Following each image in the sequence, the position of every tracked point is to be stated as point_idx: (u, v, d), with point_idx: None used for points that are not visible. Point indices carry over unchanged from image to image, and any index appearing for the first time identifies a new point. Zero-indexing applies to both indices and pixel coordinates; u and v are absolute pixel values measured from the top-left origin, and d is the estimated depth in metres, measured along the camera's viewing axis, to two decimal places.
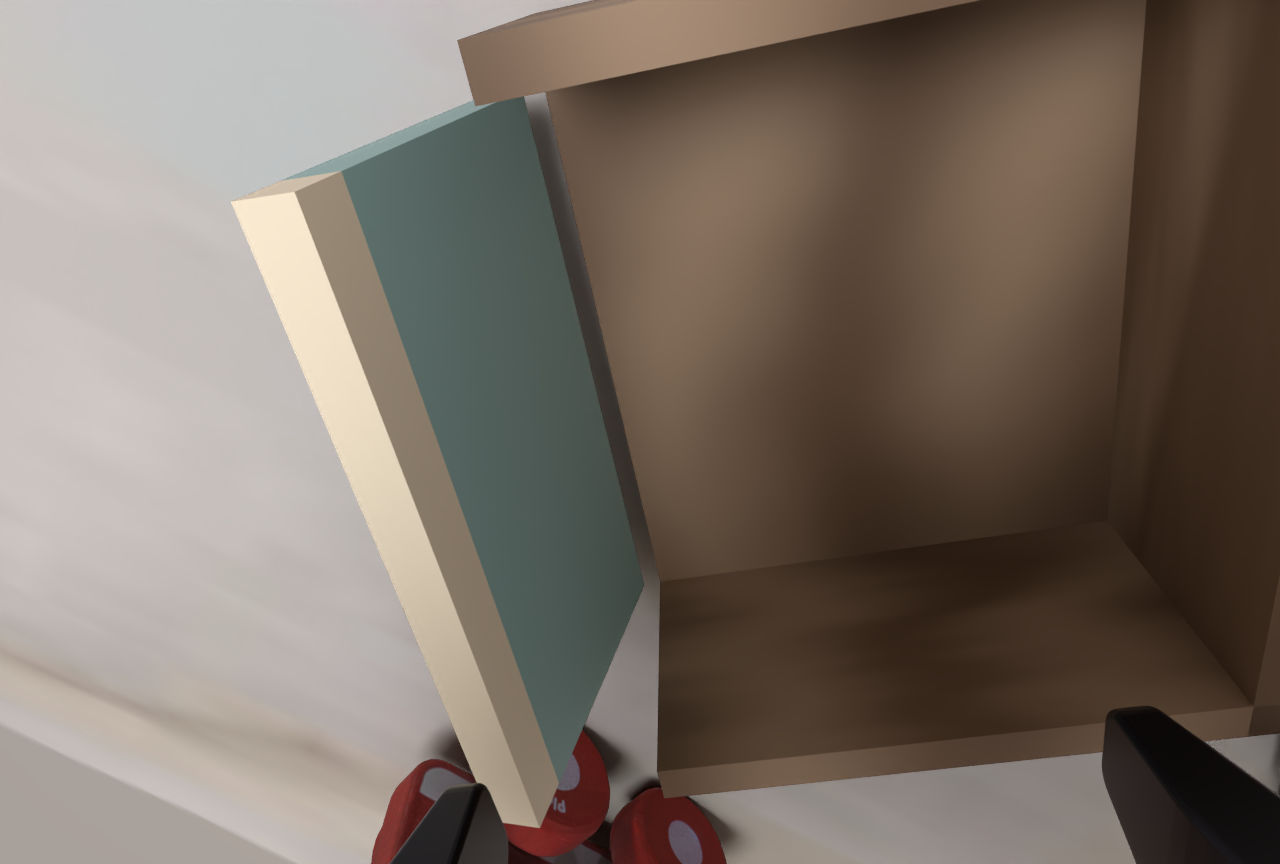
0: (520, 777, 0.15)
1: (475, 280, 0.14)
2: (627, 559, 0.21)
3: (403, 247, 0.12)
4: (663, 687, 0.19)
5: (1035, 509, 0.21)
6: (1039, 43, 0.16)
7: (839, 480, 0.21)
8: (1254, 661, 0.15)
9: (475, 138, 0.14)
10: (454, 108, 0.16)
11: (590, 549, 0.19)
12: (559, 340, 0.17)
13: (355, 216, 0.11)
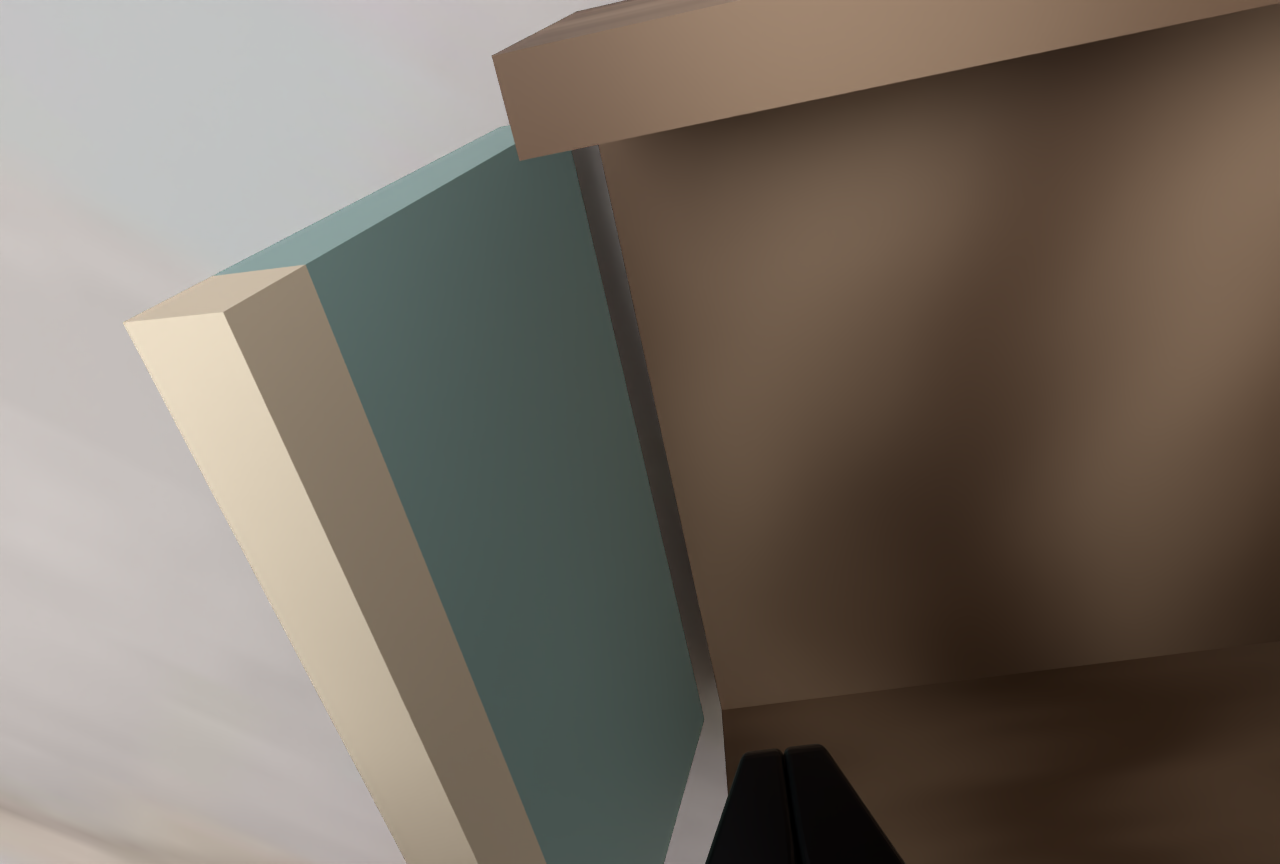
0: None
1: (506, 389, 0.10)
2: (687, 695, 0.16)
3: (404, 365, 0.08)
4: None
5: (1195, 627, 0.17)
6: (1264, 47, 0.12)
7: (951, 595, 0.16)
8: None
9: (505, 188, 0.10)
10: (472, 141, 0.11)
11: (648, 703, 0.14)
12: (610, 442, 0.13)
13: (329, 332, 0.07)
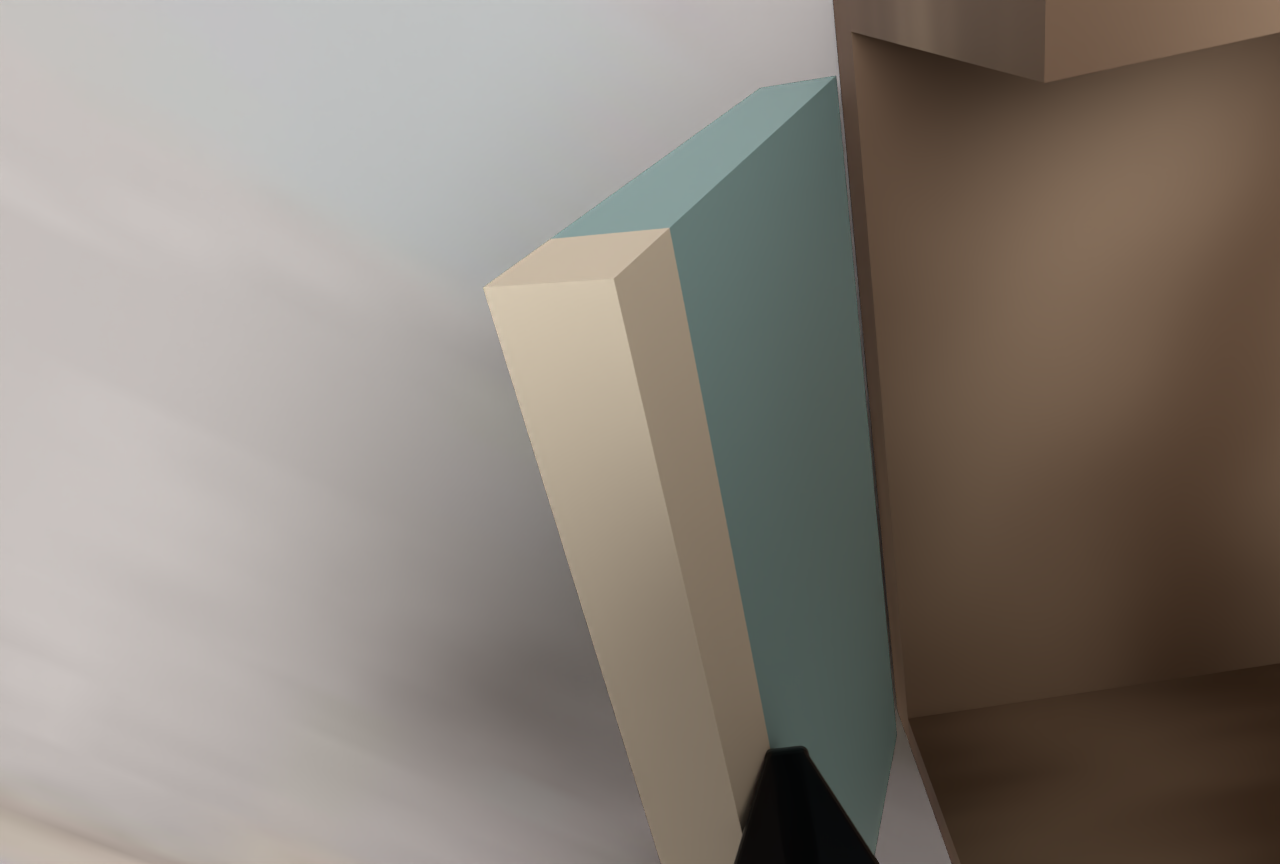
0: None
1: (791, 376, 0.09)
2: (887, 710, 0.15)
3: (729, 346, 0.07)
4: None
5: None
6: None
7: (1167, 590, 0.16)
8: None
9: (797, 153, 0.09)
10: (741, 102, 0.10)
11: (864, 719, 0.13)
12: (851, 436, 0.12)
13: (682, 306, 0.06)
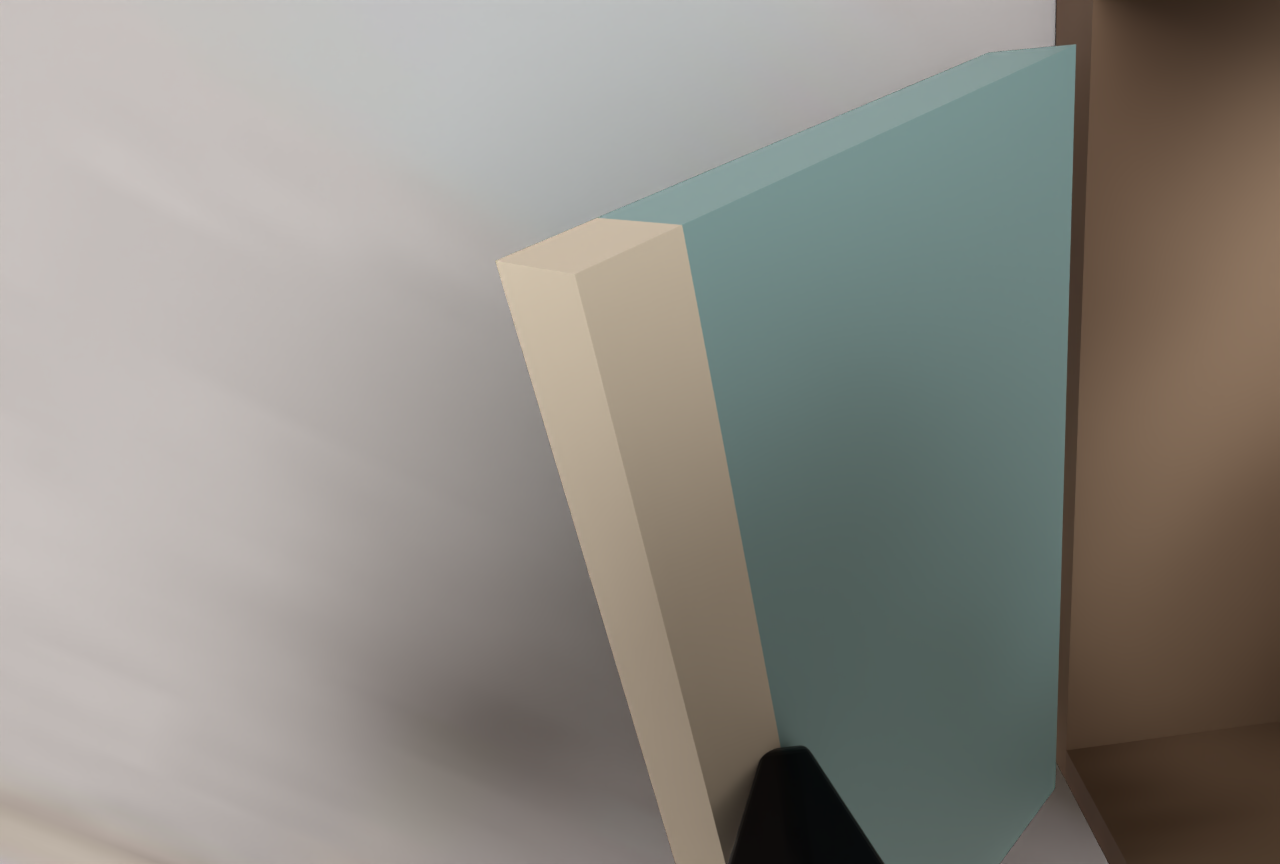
0: None
1: (899, 384, 0.08)
2: (1039, 758, 0.14)
3: (775, 347, 0.07)
4: None
5: None
6: None
7: None
8: None
9: (964, 138, 0.08)
10: (945, 71, 0.09)
11: (984, 758, 0.12)
12: (1022, 458, 0.11)
13: (692, 304, 0.06)
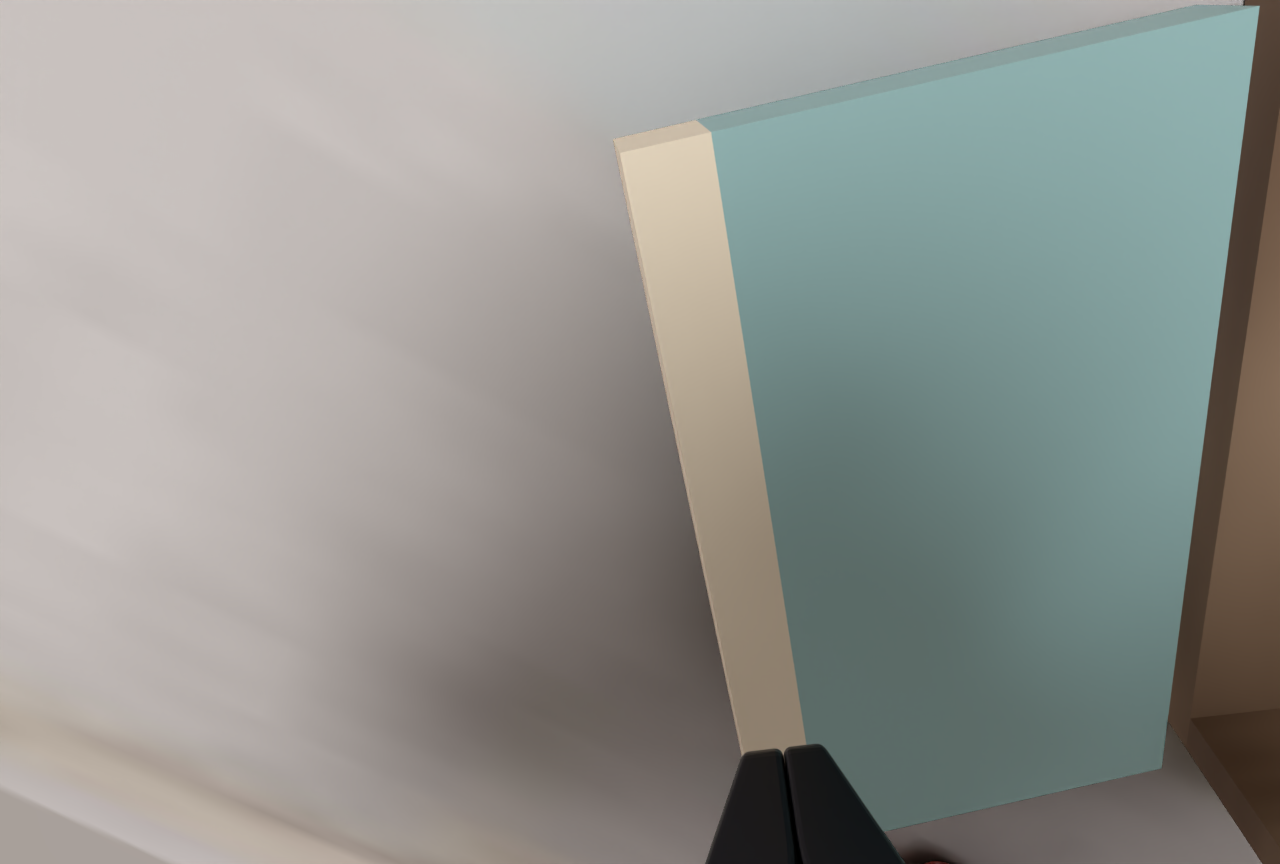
0: None
1: (940, 295, 0.10)
2: (1134, 723, 0.14)
3: (794, 235, 0.10)
4: None
5: None
6: None
7: None
8: None
9: (1051, 92, 0.09)
10: (1116, 23, 0.10)
11: (1039, 677, 0.13)
12: (1126, 411, 0.11)
13: (715, 188, 0.09)
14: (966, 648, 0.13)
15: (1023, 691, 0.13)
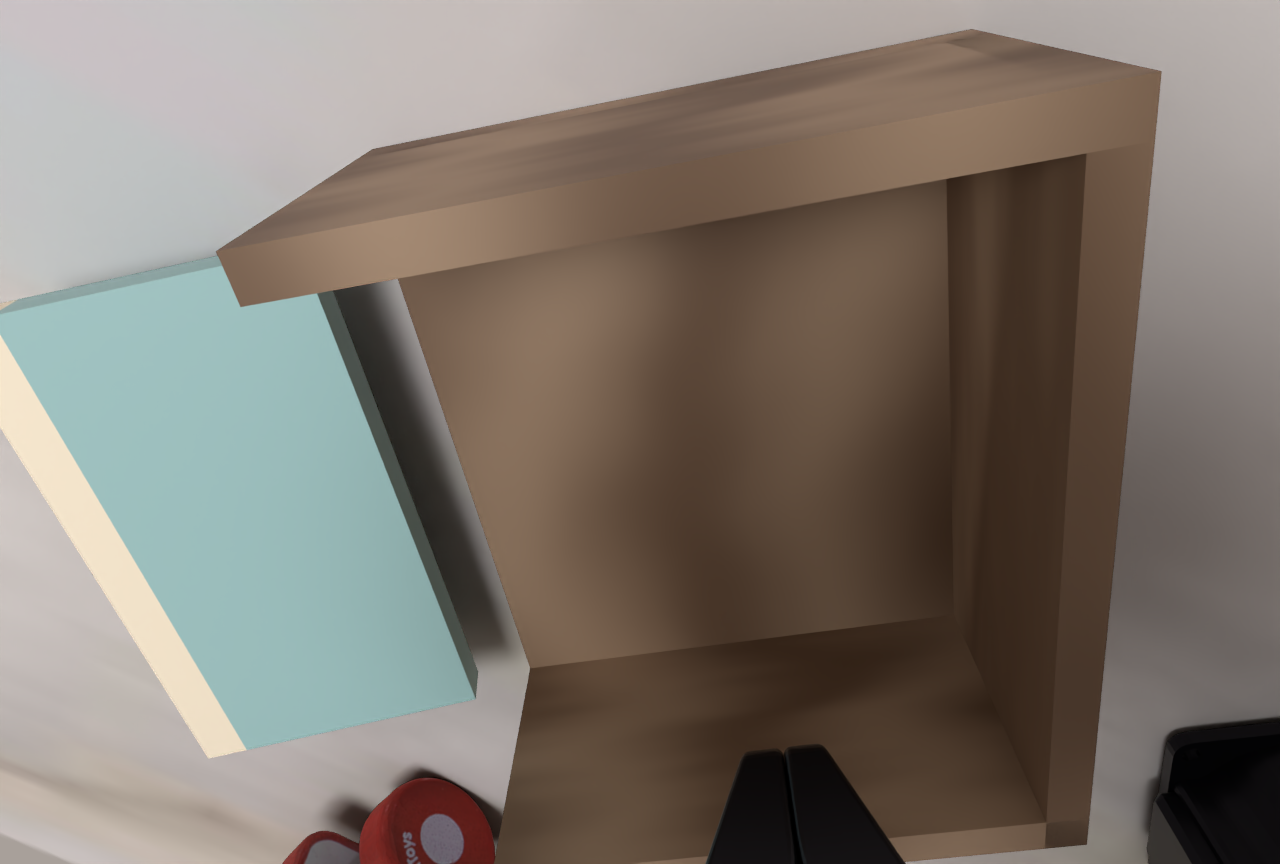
0: None
1: (172, 402, 0.17)
2: (439, 667, 0.21)
3: (64, 369, 0.17)
4: (513, 785, 0.20)
5: (884, 604, 0.22)
6: None
7: (694, 577, 0.21)
8: (1044, 781, 0.16)
9: (191, 294, 0.16)
10: None
11: (352, 635, 0.20)
12: (329, 467, 0.18)
13: (4, 345, 0.16)
14: (290, 615, 0.20)
15: (345, 644, 0.21)
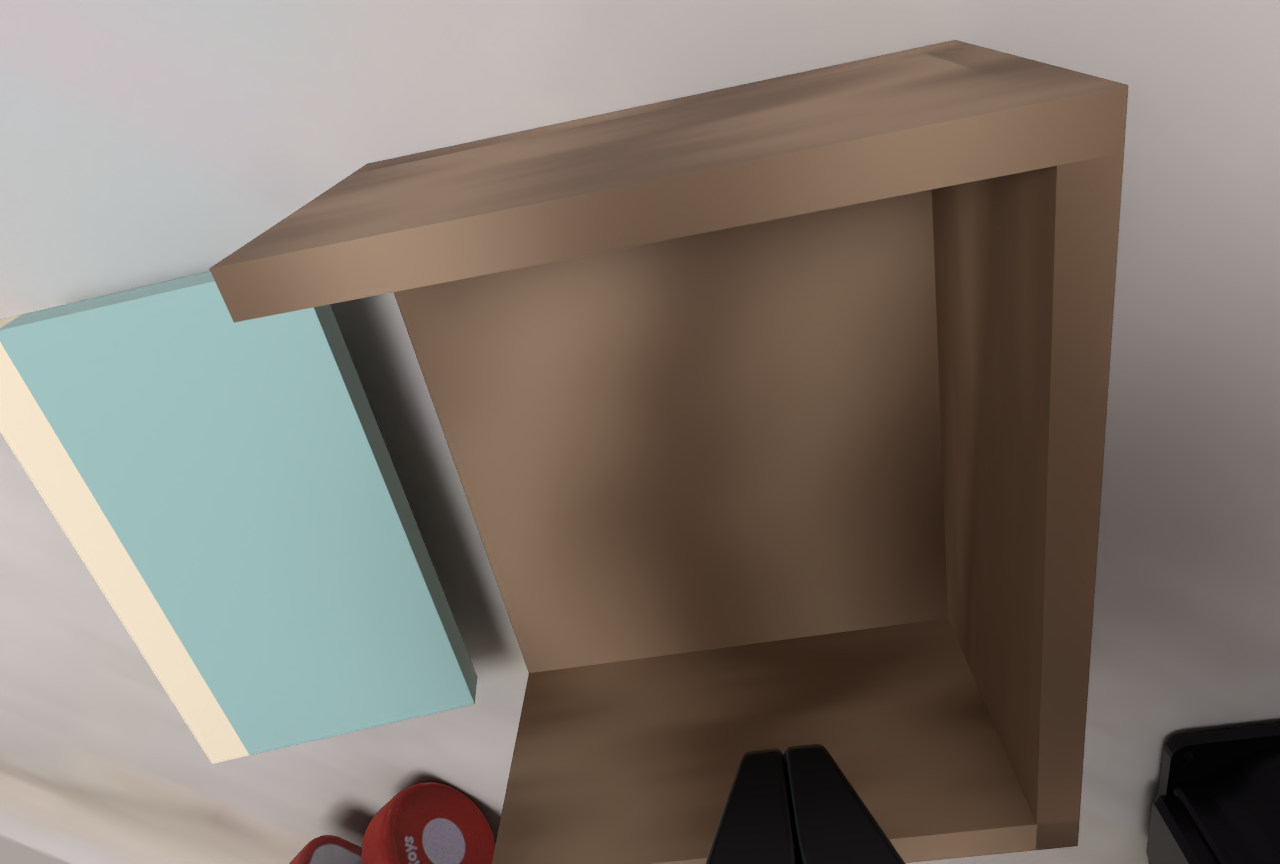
0: None
1: (172, 413, 0.18)
2: (438, 673, 0.21)
3: (66, 382, 0.17)
4: (511, 789, 0.20)
5: (878, 608, 0.22)
6: None
7: (689, 583, 0.22)
8: (1034, 783, 0.16)
9: (191, 307, 0.17)
10: None
11: (352, 641, 0.21)
12: (327, 476, 0.19)
13: (8, 359, 0.17)
14: (291, 622, 0.20)
15: (345, 650, 0.21)
